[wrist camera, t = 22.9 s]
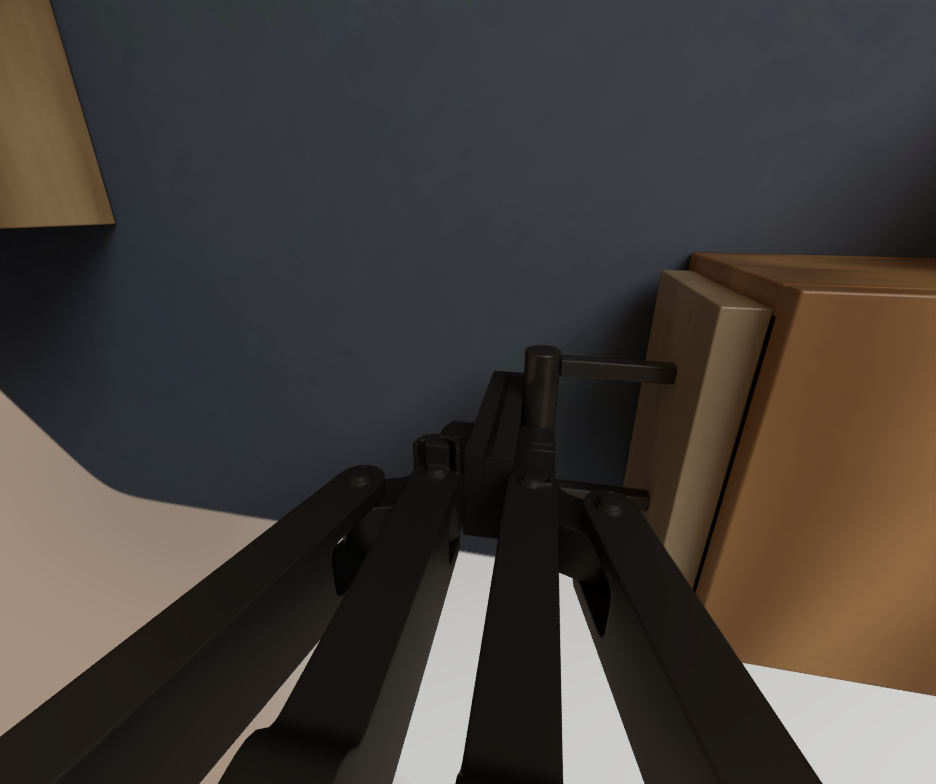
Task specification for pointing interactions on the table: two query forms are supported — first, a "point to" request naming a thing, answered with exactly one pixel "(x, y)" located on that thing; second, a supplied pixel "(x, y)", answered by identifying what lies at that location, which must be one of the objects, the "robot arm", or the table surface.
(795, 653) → the cabinet
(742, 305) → the drawer
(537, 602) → the robot arm
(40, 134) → the stand
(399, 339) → the table surface
